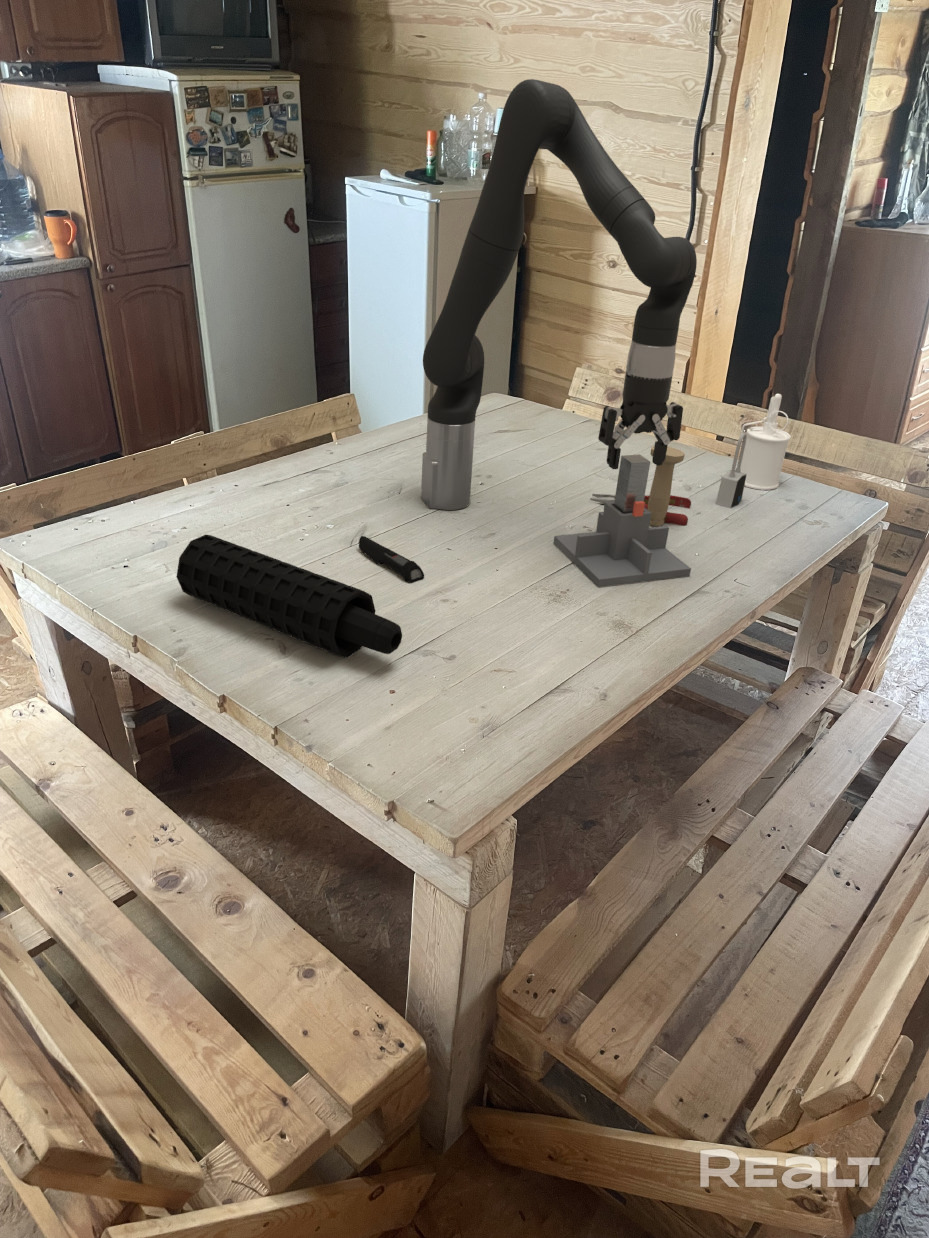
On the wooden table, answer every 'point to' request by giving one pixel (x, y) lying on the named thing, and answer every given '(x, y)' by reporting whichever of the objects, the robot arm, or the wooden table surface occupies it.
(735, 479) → the padlock
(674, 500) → the pliers
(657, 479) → the handle
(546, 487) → the wooden table surface
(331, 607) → the roller
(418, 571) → the electric trimmer
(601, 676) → the wooden table surface
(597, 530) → the stand
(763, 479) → the white oil can
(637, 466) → the column
